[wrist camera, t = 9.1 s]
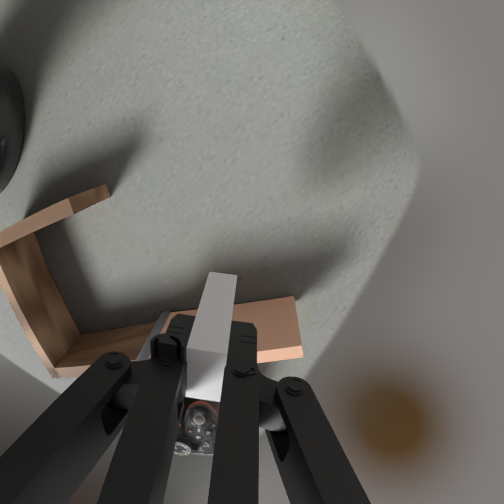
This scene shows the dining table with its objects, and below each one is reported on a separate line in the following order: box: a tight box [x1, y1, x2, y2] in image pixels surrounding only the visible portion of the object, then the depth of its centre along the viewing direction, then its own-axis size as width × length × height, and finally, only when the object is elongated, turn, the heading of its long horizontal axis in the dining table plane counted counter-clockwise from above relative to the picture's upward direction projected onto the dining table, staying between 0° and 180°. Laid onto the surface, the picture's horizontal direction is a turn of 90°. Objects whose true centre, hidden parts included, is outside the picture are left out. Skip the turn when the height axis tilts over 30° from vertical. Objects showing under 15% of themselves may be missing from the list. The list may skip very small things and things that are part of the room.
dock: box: [0, 184, 156, 378], centre depth 25 cm, size 14×11×6 cm
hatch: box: [136, 296, 303, 363], centre depth 24 cm, size 12×2×7 cm, turn 100°
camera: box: [116, 392, 220, 456], centre depth 27 cm, size 13×10×10 cm
